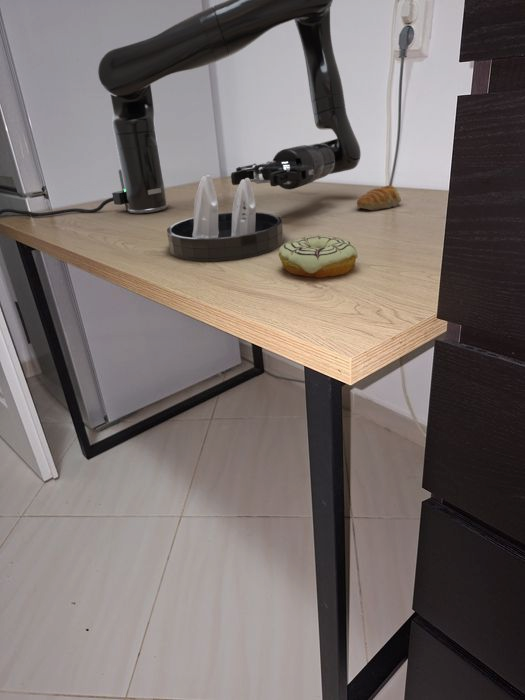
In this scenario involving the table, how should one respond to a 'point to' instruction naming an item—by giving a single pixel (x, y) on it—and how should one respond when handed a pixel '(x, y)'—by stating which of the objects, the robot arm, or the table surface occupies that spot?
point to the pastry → (379, 198)
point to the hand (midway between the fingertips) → (251, 179)
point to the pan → (226, 239)
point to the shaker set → (209, 210)
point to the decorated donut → (318, 256)
